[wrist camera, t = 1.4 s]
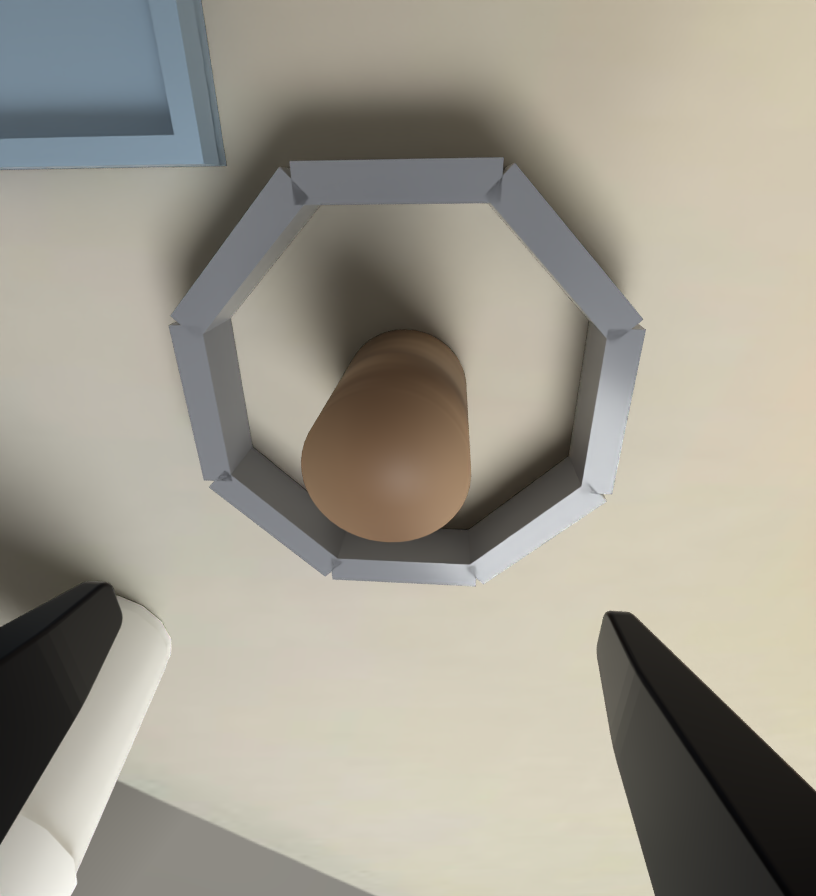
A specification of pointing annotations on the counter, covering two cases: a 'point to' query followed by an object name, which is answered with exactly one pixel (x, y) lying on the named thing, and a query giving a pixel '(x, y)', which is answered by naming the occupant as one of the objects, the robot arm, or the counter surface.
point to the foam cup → (86, 763)
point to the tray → (106, 85)
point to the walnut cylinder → (392, 440)
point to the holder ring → (289, 505)
